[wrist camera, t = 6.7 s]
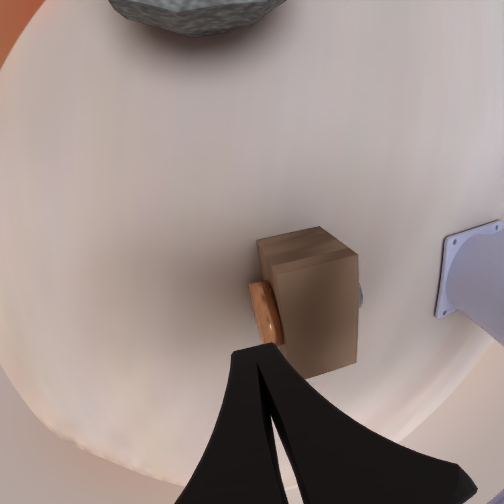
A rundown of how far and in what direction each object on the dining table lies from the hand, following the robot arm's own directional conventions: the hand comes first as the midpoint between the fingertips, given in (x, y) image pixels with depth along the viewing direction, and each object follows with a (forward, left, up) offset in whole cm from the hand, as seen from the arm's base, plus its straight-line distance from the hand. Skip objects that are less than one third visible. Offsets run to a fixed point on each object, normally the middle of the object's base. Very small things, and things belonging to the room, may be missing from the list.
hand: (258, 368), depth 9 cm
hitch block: (-4, +2, -9) cm, 10 cm away
